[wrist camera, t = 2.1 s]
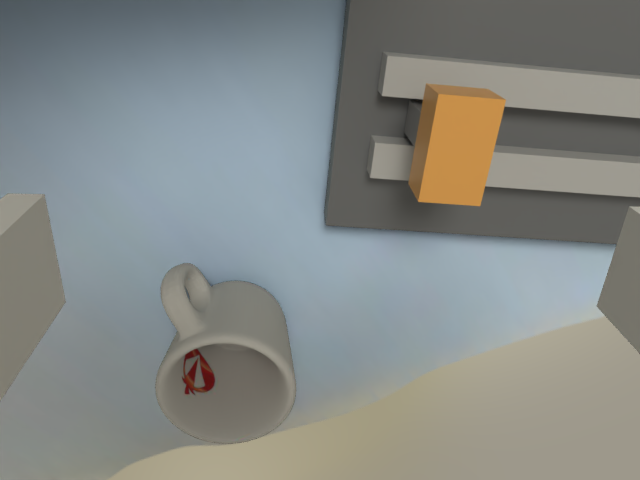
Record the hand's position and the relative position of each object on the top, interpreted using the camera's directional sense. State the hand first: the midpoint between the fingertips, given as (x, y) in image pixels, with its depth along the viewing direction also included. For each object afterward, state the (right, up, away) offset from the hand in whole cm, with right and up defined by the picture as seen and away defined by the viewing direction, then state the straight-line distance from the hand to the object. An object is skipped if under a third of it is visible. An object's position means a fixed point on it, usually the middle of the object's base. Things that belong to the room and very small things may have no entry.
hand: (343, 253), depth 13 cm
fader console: (+15, +7, +20) cm, 27 cm away
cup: (-7, -4, +25) cm, 26 cm away
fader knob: (+5, +7, +18) cm, 20 cm away
